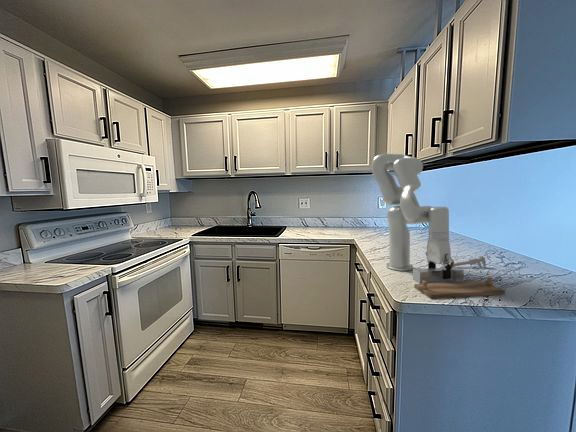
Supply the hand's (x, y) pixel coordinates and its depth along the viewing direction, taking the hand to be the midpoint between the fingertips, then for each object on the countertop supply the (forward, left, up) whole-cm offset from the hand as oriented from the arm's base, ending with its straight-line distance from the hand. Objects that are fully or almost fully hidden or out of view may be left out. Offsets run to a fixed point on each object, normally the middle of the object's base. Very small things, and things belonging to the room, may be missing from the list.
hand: (439, 275), depth 111 cm
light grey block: (-1, 0, -3) cm, 3 cm away
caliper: (-17, +23, -3) cm, 29 cm away
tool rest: (+11, 0, -2) cm, 12 cm away
